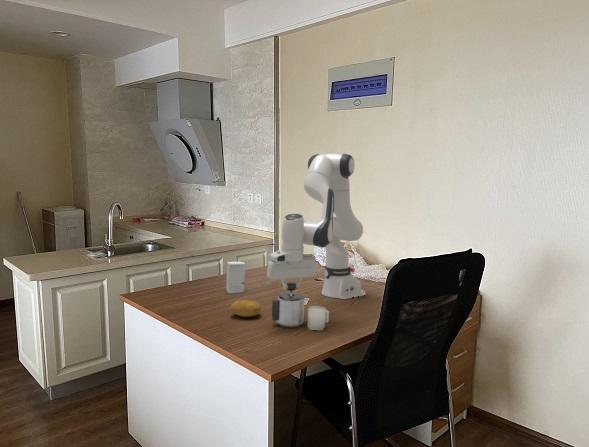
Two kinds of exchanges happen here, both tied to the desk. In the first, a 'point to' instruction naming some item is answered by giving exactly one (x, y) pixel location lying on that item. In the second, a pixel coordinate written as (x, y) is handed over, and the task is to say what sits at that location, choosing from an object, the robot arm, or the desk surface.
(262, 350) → the desk surface
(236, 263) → the skincare box
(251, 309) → the potato
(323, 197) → the robot arm
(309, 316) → the white ceramic cylinder
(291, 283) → the plunger
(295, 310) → the carafe
